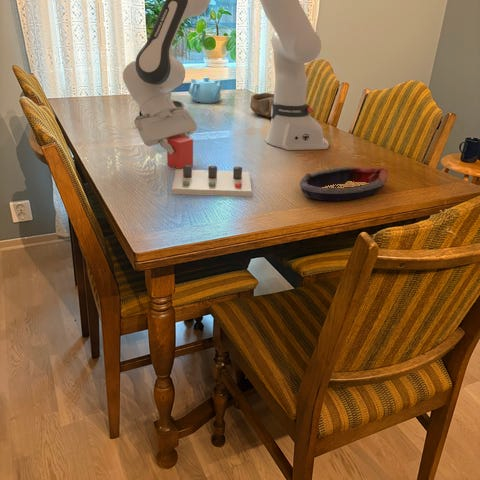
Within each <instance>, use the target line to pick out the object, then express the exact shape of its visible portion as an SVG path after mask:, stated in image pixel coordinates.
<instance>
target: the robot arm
mask: <svg viewBox="0 0 480 480" xmlns="http://www.w3.org/2000/svg"><path fill="white" fill-rule="evenodd" d="M211 1H212V0H164V3H163V5H162V7H161V9H160V12H159V14H158V16H157V18H156V21H155V23H154V26H153V28H152V30H151V32H150V35H149V37H148V39H147V41H146V42H145V44H144V45H143V47H141V49H140V50H139V52H138V53H137V55H136V57H135V60H133V61H130V63H129V64H127V65H126V66H125V68H124V69H123V71H122V80H123V83H124V85H125V87H126V89H127V92H128V93H129V95H130V97H131V98H132V100H133V102H135V103H136V104H137V106H138V110H139V112H140V111H141V113H142V116H139V115H137V116H136V117H135V118H134V120H133V123H134V125H135V127H136V128H137V132H138V134H139V136H140V139H141V140H142V142H143V143H144V145H145V146H148V147H151V146H155V145H160V146H161V148H163V149H165V150H166V152H167V151H168V152H169V154H174V153H175V152H176V149H175V147H174V146H171V145H170V144H168V143H167V142H168V141H167V139H168V138H172V137H176V136H184V137H187V138H190V139H191V136H190V135H193V134H194V133H195V132H196V131H197V130H198V126H197V123H196V121H195V119H194V118H193V116H192V115H191V113H190V112H189V111H188V110H187V109H185V104H184V102H182V101H179V100H175V99H172V98H171V99H167V98H166V97H165V95H164V94H166V93H168V92H170V91H171V92H172V91H174V90H176V89H178V88H179V87H181V85H183V82H184V80H185V78H186V70H185V66H184V65H183V63H182V62H181V61H180V60H179V59H177V58H176V57H174V56H173V55H172V54H171V48H172V45H173V44H174V41H175V38H176V36H177V34H178V32H179V29H180V27H181V26H182V23H183V22H184V21H185V20H186V19H188V18H194V17H195V18H196V17H198V16H200V15H203V14H204V13H205V12H206V11H207V9H208V7H209V6H210V4H211ZM259 1H260V4H261V6H262V9H263V11H264V15H265V16H266V18H267V20H268V21H269V22H270V24H271V25H272V27H273V29H274V31H273V32H272V35H271V41H270V42H271V46H272V51H273V65H274V75H275V76H274V77H275V78H274V93H273V94H274V101H273V102H272V107H271V121H270V127H269V130H268V133H267V137H266V139H265V142H266V143H268V145H271V146H274V147H278V148H280V149H281V148H282V149H283V150H287V151H297V150H298V151H300V150H303V151H304V150H307V151H308V150H309V151H310V150H327V149H329V145H330V144H329V142H328V140H327V139H326V138H324V131H323V127H322V126H321V125H320V123H319V122H317V120H316V119H314V118H313V116H311V114H313V113H314V108H313V107H312V106H310V105H309V104H307V103H306V98H307V92H308V91H307V90H308V76H307V73H306V65H305V64H307V63H311V62H314V61H315V60H316V59H317V58H318V56H319V55H320V52H321V49H322V42H321V39H320V36H319V35H318V33H317V32H316V30H315V29H314V28H313V25H312V23H311V22H310V19H309V17H308V15H307V14H306V12H305V9H304V8H303V6H302V4H301V2H300V0H259Z"/></svg>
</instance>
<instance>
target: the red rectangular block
mask: <svg viewBox="0 0 480 480" xmlns="http://www.w3.org/2000/svg"><path fill="white" fill-rule="evenodd" d="M167 141H168V142H167V143H168V144H170V145H171V146H174V147H175V149H176V152H175V153H174V154H169V152H168V151H167V150H166V155H167V156H166V158H167V160H166V161H167V162H166V164H167V166H170V167H173V168H176V169H181V170H183V166H184V165H191V166H192V165H194V139H193V138H191V137H190V138H187V137H184V136H176V137H172V138H168V139H167Z"/></svg>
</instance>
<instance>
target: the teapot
mask: <svg viewBox="0 0 480 480" xmlns="http://www.w3.org/2000/svg"><path fill="white" fill-rule="evenodd" d="M190 80H191V81H190V82H191V83H190V86H189V90H188V94H189V95H190V97H191V99H192V100H193V102H196V103H198V102H200V103H199V104H215V102H216V103H218V102H219V101H220V100H221V97H222V95H221V90H222V85H223V80H218V81H217V82H216V81H214V80H211V79H210V77H208V76H207V77H206V76H204V77H202V79H199V80H196V79H195V78H194V79H193V78H192V79H191V78H190Z"/></svg>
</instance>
